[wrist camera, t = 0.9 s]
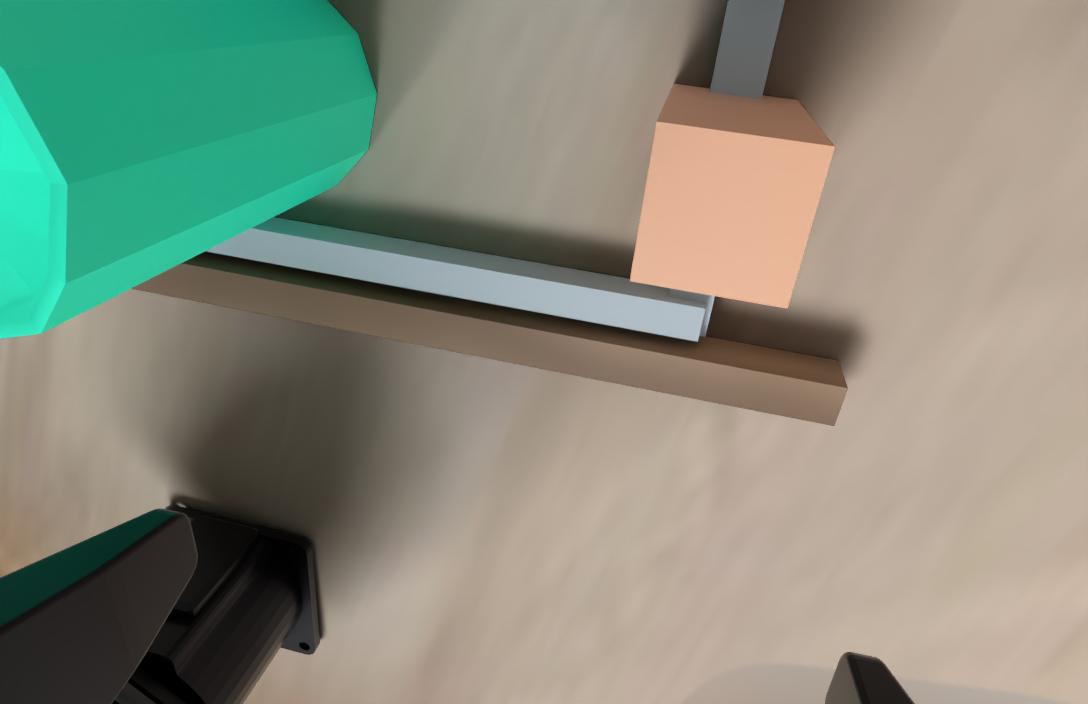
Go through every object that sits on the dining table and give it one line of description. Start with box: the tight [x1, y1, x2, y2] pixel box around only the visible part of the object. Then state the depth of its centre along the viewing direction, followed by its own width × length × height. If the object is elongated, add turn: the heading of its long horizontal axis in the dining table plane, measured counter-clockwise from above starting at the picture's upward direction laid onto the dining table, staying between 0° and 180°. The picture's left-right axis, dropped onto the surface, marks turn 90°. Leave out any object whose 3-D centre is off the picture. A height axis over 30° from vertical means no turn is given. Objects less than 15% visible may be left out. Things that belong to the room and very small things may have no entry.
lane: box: [131, 251, 848, 426], centre depth 18 cm, size 13×25×2 cm, turn 85°
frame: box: [207, 0, 835, 342], centre depth 16 cm, size 10×19×6 cm, turn 85°
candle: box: [0, 0, 377, 339], centre depth 14 cm, size 6×6×12 cm
